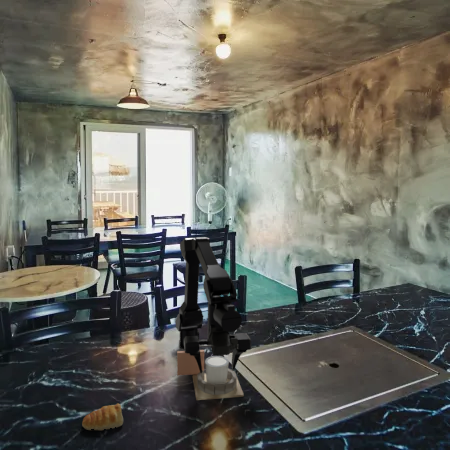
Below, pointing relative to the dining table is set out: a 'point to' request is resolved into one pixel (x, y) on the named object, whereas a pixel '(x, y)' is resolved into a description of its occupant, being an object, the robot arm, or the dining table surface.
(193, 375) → the dock
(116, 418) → the pastry
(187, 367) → the block
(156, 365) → the dining table surface
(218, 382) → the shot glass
